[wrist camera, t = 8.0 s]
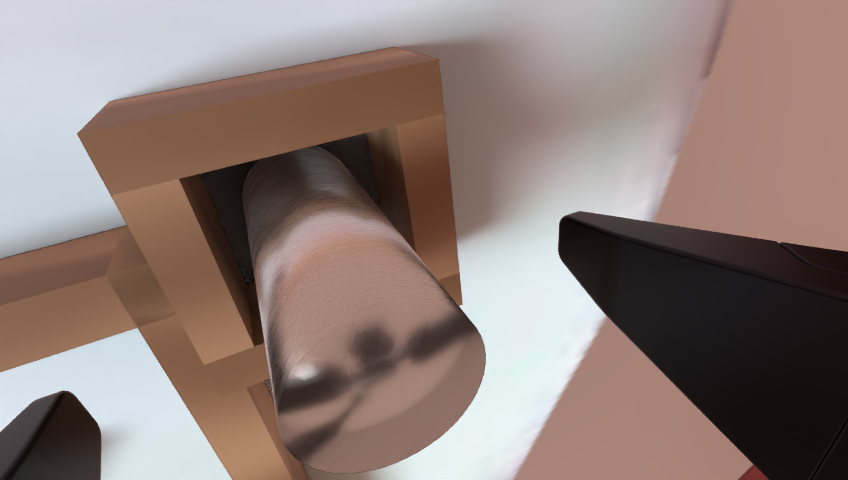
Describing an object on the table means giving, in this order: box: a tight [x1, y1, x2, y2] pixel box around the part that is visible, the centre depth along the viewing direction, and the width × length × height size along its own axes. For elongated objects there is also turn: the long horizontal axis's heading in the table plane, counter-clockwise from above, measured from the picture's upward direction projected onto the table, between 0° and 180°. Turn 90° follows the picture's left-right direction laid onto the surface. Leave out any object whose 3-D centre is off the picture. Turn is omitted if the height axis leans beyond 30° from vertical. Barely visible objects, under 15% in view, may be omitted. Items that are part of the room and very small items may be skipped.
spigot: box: [242, 146, 486, 474], centre depth 10 cm, size 3×3×8 cm
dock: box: [0, 47, 462, 480], centre depth 15 cm, size 24×13×3 cm, turn 8°
